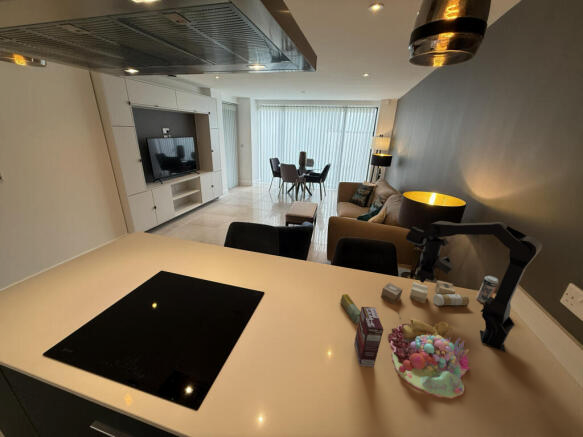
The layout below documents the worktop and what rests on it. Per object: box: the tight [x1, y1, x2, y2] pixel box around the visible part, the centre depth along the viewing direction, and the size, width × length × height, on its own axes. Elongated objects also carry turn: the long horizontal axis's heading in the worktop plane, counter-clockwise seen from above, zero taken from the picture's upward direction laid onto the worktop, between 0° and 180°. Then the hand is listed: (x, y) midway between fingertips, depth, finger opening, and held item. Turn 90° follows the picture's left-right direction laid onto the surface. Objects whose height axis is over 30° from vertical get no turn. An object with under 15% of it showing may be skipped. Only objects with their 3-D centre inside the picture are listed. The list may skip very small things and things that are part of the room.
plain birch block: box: [408, 281, 429, 304], centre depth 103 cm, size 6×6×5 cm
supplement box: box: [353, 306, 384, 367], centre depth 72 cm, size 9×5×16 cm, turn 177°
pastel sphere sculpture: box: [387, 318, 470, 400], centre depth 74 cm, size 25×24×9 cm
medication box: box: [339, 293, 361, 325], centre depth 92 cm, size 12×3×4 cm, turn 16°
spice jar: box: [475, 275, 499, 304], centre depth 101 cm, size 5×5×12 cm
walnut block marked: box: [380, 282, 403, 305], centre depth 101 cm, size 6×6×5 cm
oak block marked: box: [434, 280, 456, 295], centre depth 105 cm, size 6×6×5 cm
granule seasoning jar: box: [432, 293, 470, 307], centre depth 99 cm, size 5×5×14 cm
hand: (421, 282), depth 100 cm, fingers closed
